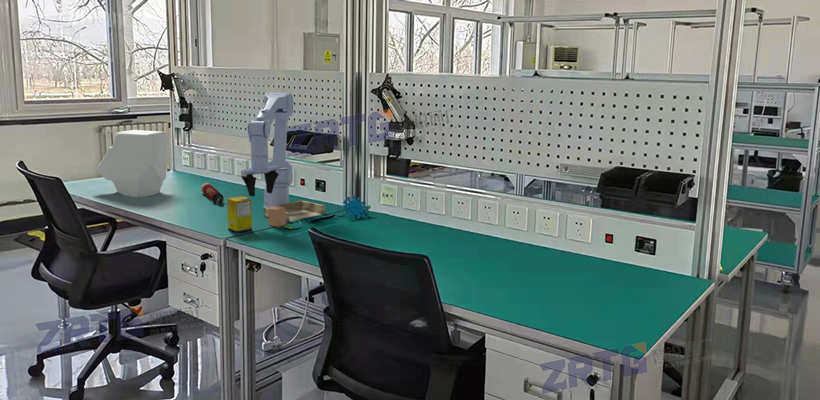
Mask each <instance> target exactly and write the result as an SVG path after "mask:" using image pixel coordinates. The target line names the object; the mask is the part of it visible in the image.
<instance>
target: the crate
mask: <svg viewBox="0 0 820 400" xmlns="http://www.w3.org/2000/svg"><path fill="white" fill-rule="evenodd" d="M276 206H279V207H284V208H285V212H286V223H289V222H295V221H297V220H298V221H299V220H303V219H307V218H311V217H315V216H316V217H317V216H321V215H325V214H326V205H324V204H319V203H315V202H311V201H310V202H309V201H307V200H306V201H305V200H302V199H301V200H297V201H292V202H291V201H290V202H289V203H286V204H280V205H275V206H270V207H263V216H264V217H266V218H269V208H271V207H276Z"/></svg>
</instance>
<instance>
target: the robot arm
mask: <svg viewBox="0 0 820 400" xmlns="http://www.w3.org/2000/svg"><path fill="white" fill-rule="evenodd" d="M263 104H264V108H262V109H260V110H259V111H258V113H257V114H256V116H255V118H254V119H253V120H251V121H249V122H248V124H247V135H248V141H249V143H250V160H251V161H250V162H251V167H250V168H245V169H242V170H240V176H241V180H243V182H244V184H245V186H246V189H247V192H248V196H249V197H255V196H256V194H255V193H256V191H255V190H256V182H257V181H256V180H257V177H256V176H254V175H262V174H263V178H264V182H265V184H266V185H265V187H264V190H263V206H262V208H265V207H270V206H275V205H280V204H286V203H290V199H289V195H290V193H289V187H290V186H291V185H292V184H293V181H294V173H293V171H294V170H293V166H292V164H291V163H289V162H288V160H286V159H287V157H286V156H287V141H288V140H287V136H288V122H289V117H292V116H293V112H294V96H293V94H292V92H269V91H267V92H265V94H264V95H263ZM273 122H274V131H273V151H272V160H270V161H269V143H268V142H269V141H268V139H269V137H270V133H271V129H272V128H271V126H272V123H273Z"/></svg>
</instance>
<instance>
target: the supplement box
mask: <svg viewBox="0 0 820 400" xmlns="http://www.w3.org/2000/svg"><path fill="white" fill-rule="evenodd" d="M226 208H227V227H228V228H227V229H228V231H230V232H232V233H234V234H235V233H236V234H240V233H245V232H249V231H250V232H251V231H253V215H252V214H253V212H252V211H253V210H252V198H249V197H247V196H243V195H240V196H235V197H229V198H228V197H227V198H226Z"/></svg>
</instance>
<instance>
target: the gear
mask: <svg viewBox="0 0 820 400" xmlns="http://www.w3.org/2000/svg"><path fill="white" fill-rule="evenodd" d="M345 198H346V199H344V201H343V202H342V203H343V204H344V205H342V209H343V210H345V214H346V215H350V216H349V217H350V218H351V219H354V217H355V216H356V218H355V219H356V220H360V219H361V218H362V219H365V218H366V217H367V215H368V214H369V210H370V209H371V207H372V206H371V205H370V204H369V205H366V204H367V202H366V201H365V200H363V201H361V200H362V198H361V196H358V197H357V199H356V196H355V195H352V196H351V197H350V196H347V197H345ZM355 199H356V200H355Z"/></svg>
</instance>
